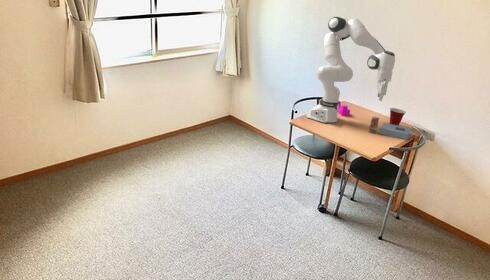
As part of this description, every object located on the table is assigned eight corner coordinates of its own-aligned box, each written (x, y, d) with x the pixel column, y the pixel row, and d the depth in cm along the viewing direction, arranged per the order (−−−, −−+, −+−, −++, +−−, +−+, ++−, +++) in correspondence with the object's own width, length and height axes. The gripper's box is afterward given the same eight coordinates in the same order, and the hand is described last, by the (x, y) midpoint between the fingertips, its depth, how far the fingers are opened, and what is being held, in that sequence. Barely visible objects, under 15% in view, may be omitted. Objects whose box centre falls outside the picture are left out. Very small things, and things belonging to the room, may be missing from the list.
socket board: (378, 133, 258) (379, 127, 257) (382, 128, 270) (383, 122, 269) (407, 140, 251) (408, 134, 249) (409, 134, 262) (411, 128, 261)
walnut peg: (368, 132, 259) (371, 118, 256) (370, 130, 263) (373, 116, 259) (375, 133, 258) (378, 119, 254) (376, 132, 261) (379, 117, 257)
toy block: (349, 116, 291) (351, 106, 288) (341, 116, 290) (343, 106, 287) (341, 110, 305) (342, 100, 302) (333, 109, 304) (335, 100, 301)
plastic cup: (405, 128, 274) (409, 111, 270) (393, 128, 270) (397, 112, 265) (394, 122, 283) (398, 107, 279) (383, 123, 279) (386, 107, 275)
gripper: (391, 81, 237) (386, 103, 242) (387, 75, 255) (382, 95, 260) (380, 80, 238) (376, 102, 243) (377, 74, 256) (373, 94, 261)
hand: (379, 98), depth 252 cm, fingers open, 8 cm apart
